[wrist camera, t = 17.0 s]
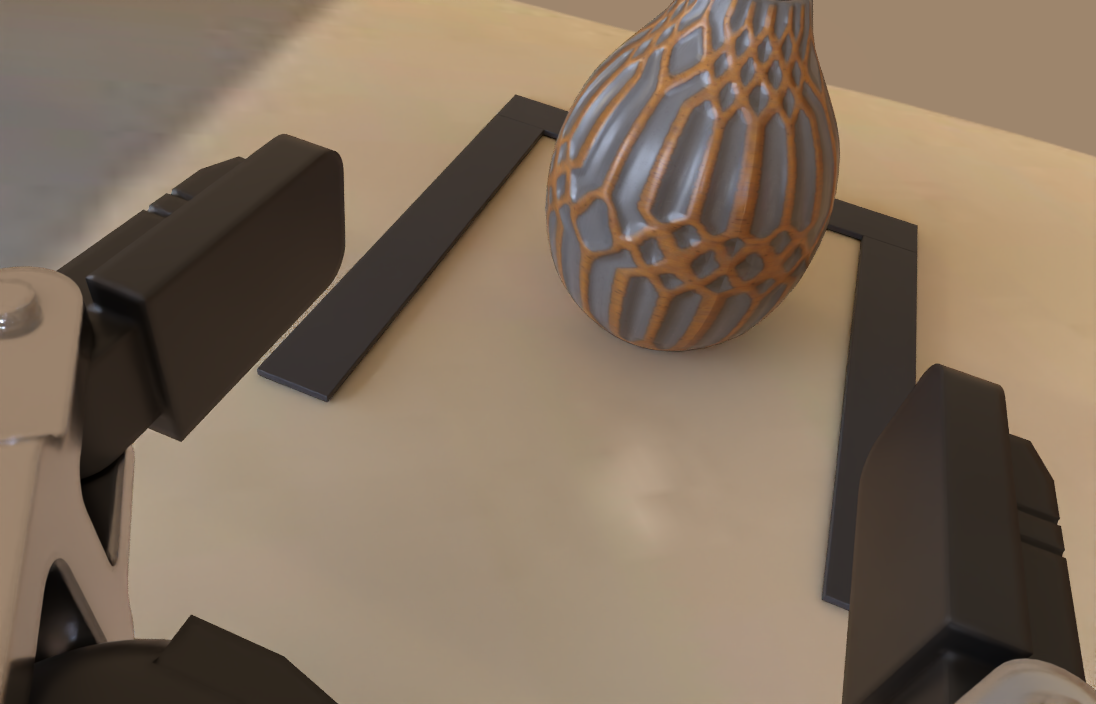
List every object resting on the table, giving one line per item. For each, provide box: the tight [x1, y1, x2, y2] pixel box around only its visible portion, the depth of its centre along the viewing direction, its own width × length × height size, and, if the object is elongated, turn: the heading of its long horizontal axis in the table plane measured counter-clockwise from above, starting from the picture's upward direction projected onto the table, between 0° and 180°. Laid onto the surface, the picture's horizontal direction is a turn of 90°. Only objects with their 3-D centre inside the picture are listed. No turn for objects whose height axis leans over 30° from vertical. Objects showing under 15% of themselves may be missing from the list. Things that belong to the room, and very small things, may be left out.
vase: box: [545, 0, 840, 351], centre depth 19 cm, size 7×7×9 cm
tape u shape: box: [257, 95, 917, 610], centre depth 23 cm, size 15×16×1 cm
